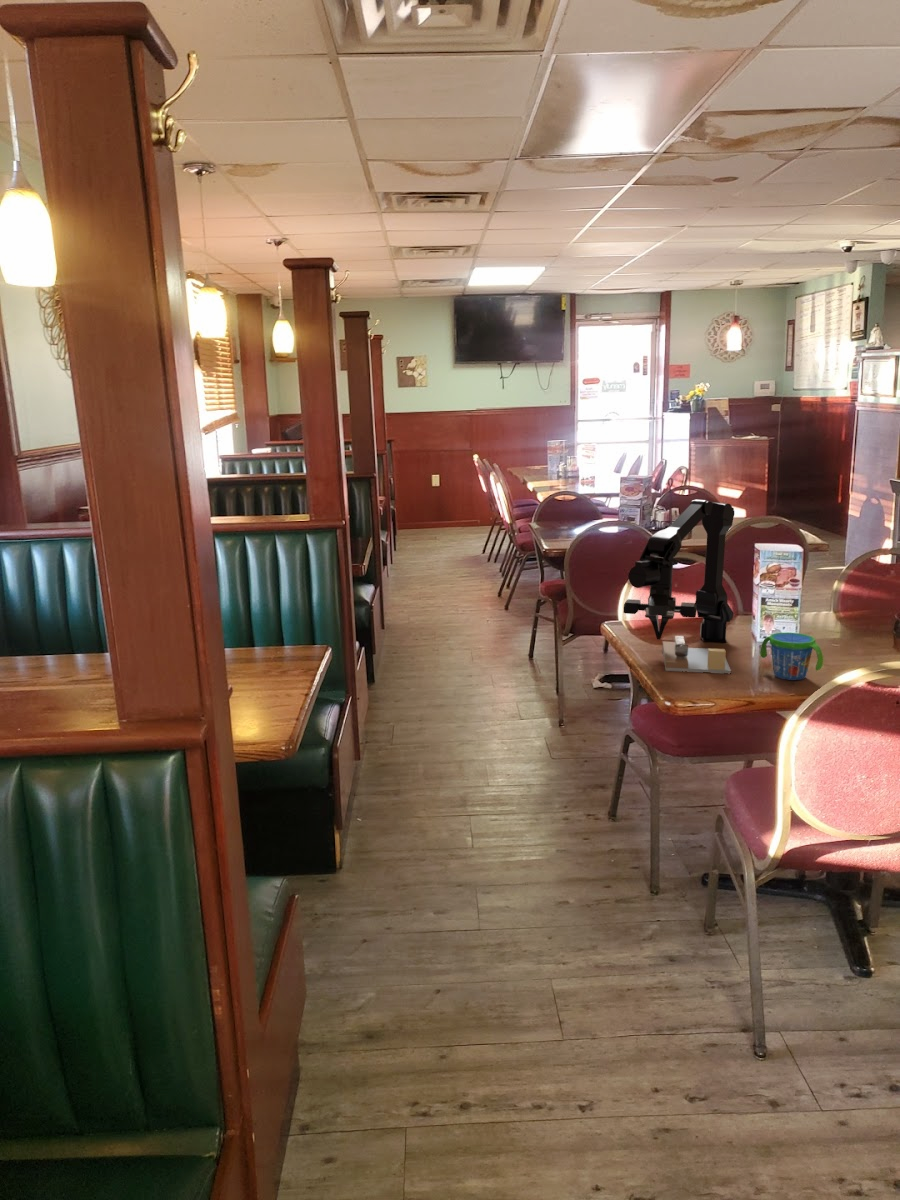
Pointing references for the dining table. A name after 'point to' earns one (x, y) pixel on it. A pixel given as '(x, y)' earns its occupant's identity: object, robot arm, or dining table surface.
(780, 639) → the snack cup
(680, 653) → the latch bar
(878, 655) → the dining table surface
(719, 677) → the dining table surface
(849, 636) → the dining table surface
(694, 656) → the door board
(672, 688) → the dining table surface
